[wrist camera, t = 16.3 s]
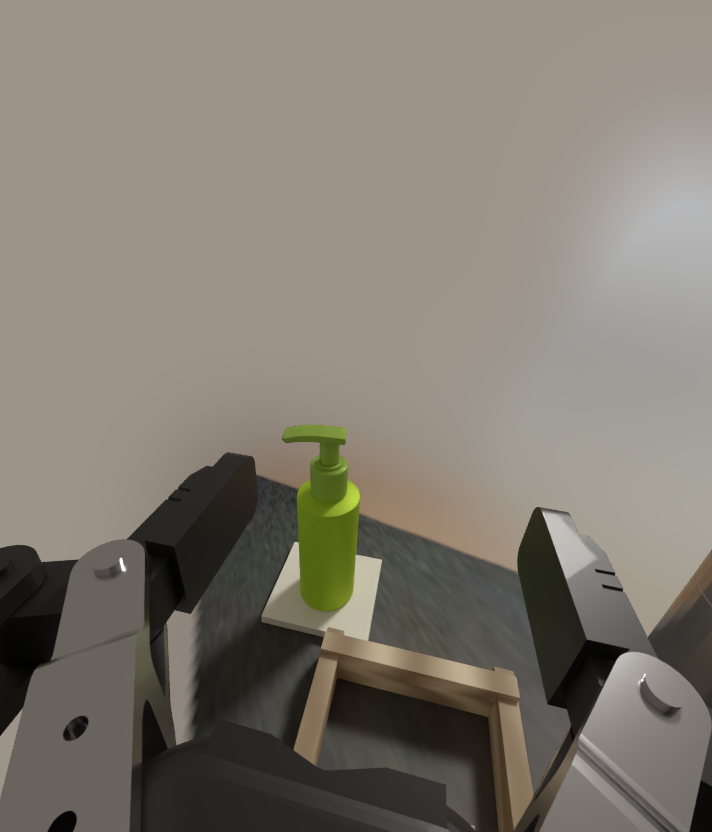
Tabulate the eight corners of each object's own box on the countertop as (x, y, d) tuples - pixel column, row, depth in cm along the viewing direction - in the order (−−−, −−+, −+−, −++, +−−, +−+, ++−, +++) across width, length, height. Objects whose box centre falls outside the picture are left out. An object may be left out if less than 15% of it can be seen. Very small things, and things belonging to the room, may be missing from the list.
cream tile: (381, 565, 45) (381, 560, 45) (366, 647, 36) (367, 641, 36) (295, 547, 47) (294, 541, 46) (261, 622, 38) (261, 616, 38)
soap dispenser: (295, 563, 43) (289, 412, 34) (354, 566, 43) (364, 416, 34) (286, 609, 38) (276, 447, 29) (353, 613, 38) (364, 451, 29)
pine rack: (503, 692, 34) (514, 667, 32) (547, 1023, 20) (572, 1015, 18) (326, 648, 36) (327, 623, 34) (255, 915, 22) (250, 898, 20)
